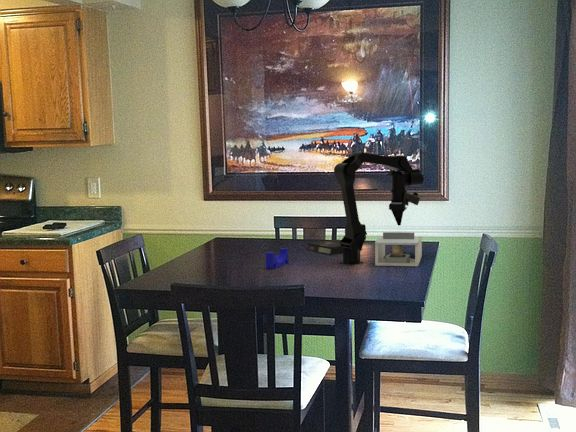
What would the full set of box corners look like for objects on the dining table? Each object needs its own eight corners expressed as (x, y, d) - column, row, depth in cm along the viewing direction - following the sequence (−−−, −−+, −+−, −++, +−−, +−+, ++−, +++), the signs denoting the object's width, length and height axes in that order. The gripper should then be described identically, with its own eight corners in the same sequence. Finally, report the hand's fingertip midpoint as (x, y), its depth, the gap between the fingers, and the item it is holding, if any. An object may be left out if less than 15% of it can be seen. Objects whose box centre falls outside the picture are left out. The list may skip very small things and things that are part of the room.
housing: (417, 266, 266) (417, 245, 265) (375, 265, 270) (375, 245, 269) (421, 255, 289) (421, 236, 288) (382, 255, 293) (382, 236, 292)
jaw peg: (397, 261, 270) (396, 245, 269) (390, 260, 273) (389, 244, 273) (405, 260, 272) (404, 243, 271) (398, 259, 275) (397, 243, 275)
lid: (417, 244, 265) (417, 236, 264) (374, 244, 269) (374, 236, 268) (419, 240, 275) (419, 232, 275) (378, 240, 279) (378, 232, 279)
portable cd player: (307, 252, 309) (307, 243, 308) (338, 248, 318) (338, 239, 318) (330, 257, 295) (329, 247, 295) (361, 252, 304) (361, 243, 304)
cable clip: (278, 262, 282) (278, 248, 282) (288, 263, 280) (288, 248, 279) (262, 268, 272) (262, 252, 271) (272, 268, 270) (272, 253, 269)
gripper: (417, 188, 273) (417, 228, 275) (420, 184, 291) (421, 222, 293) (388, 188, 276) (389, 228, 278) (393, 185, 294) (394, 222, 296)
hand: (399, 225), depth 286 cm, fingers closed
